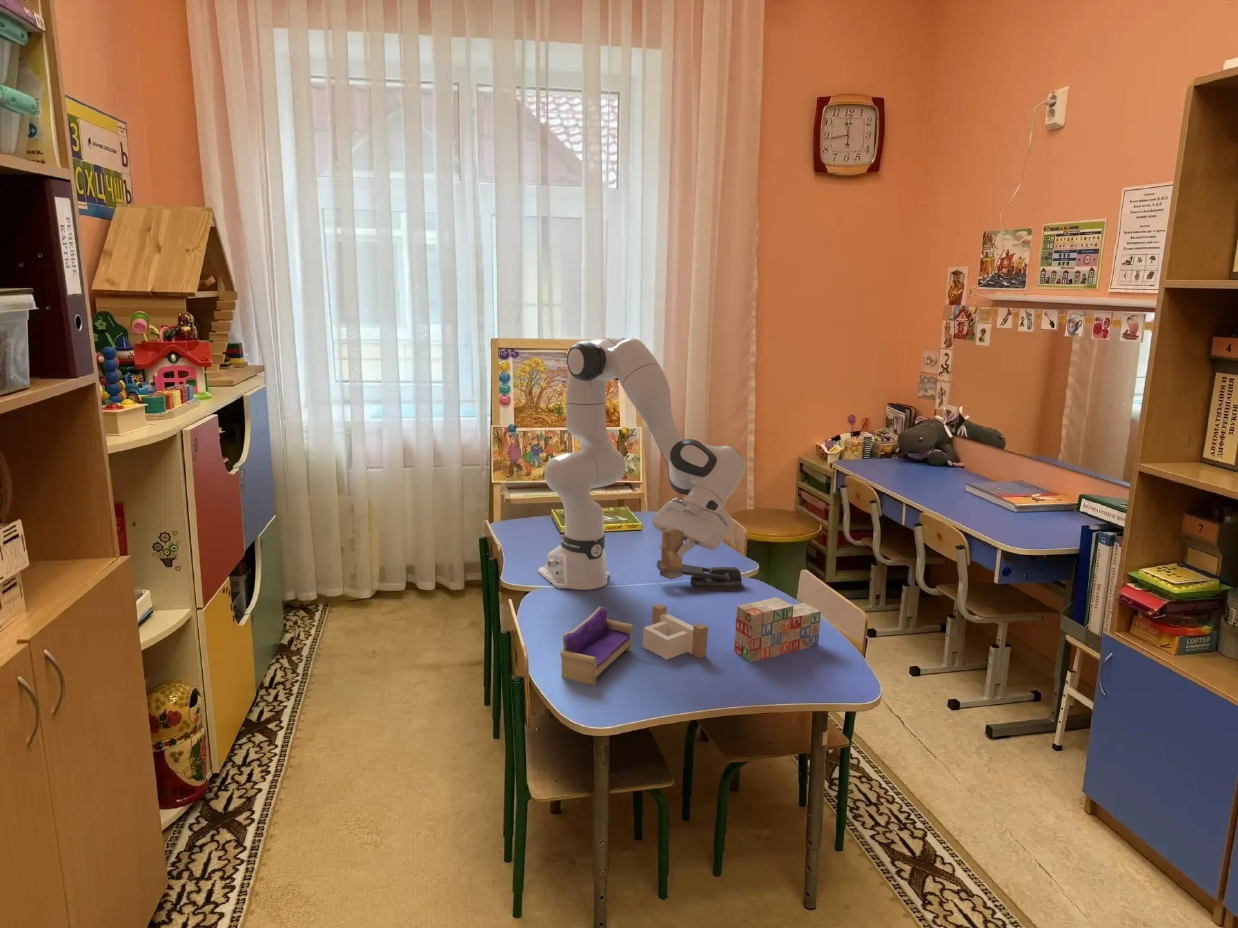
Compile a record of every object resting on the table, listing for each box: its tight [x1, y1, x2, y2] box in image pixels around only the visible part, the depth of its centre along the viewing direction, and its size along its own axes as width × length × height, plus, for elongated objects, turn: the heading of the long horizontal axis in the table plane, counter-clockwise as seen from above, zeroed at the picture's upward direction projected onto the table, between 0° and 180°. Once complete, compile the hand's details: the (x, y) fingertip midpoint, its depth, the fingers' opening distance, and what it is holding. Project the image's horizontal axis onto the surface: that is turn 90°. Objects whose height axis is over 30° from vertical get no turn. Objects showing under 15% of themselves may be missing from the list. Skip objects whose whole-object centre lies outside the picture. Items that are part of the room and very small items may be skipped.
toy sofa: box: [559, 606, 634, 686], centre depth 192 cm, size 21×9×10 cm, turn 155°
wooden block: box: [659, 528, 684, 580], centre depth 196 cm, size 4×4×11 cm
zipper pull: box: [656, 559, 743, 592], centre depth 242 cm, size 9×7×25 cm
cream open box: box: [642, 603, 709, 660], centre depth 201 cm, size 17×9×8 cm, turn 40°
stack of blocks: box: [733, 597, 822, 663], centre depth 202 cm, size 21×6×12 cm, turn 119°
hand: (670, 552), depth 195 cm, fingers closed on wooden block, 3 cm apart
